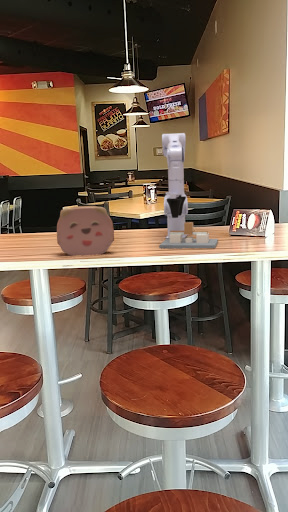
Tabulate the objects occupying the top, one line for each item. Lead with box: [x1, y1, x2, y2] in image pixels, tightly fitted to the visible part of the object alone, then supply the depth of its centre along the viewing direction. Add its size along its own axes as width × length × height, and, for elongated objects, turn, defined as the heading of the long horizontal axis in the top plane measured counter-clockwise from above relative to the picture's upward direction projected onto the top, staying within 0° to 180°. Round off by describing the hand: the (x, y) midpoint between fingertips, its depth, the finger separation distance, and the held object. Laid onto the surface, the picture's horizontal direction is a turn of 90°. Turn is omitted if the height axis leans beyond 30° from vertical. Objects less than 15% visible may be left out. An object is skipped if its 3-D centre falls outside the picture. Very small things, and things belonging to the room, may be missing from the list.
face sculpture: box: [56, 205, 115, 257], centre depth 155 cm, size 20×7×17 cm, turn 94°
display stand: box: [159, 232, 219, 249], centre depth 165 cm, size 14×20×4 cm
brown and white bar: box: [170, 221, 209, 236], centre depth 164 cm, size 3×14×4 cm, turn 76°
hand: (176, 216), depth 167 cm, fingers open, 7 cm apart
